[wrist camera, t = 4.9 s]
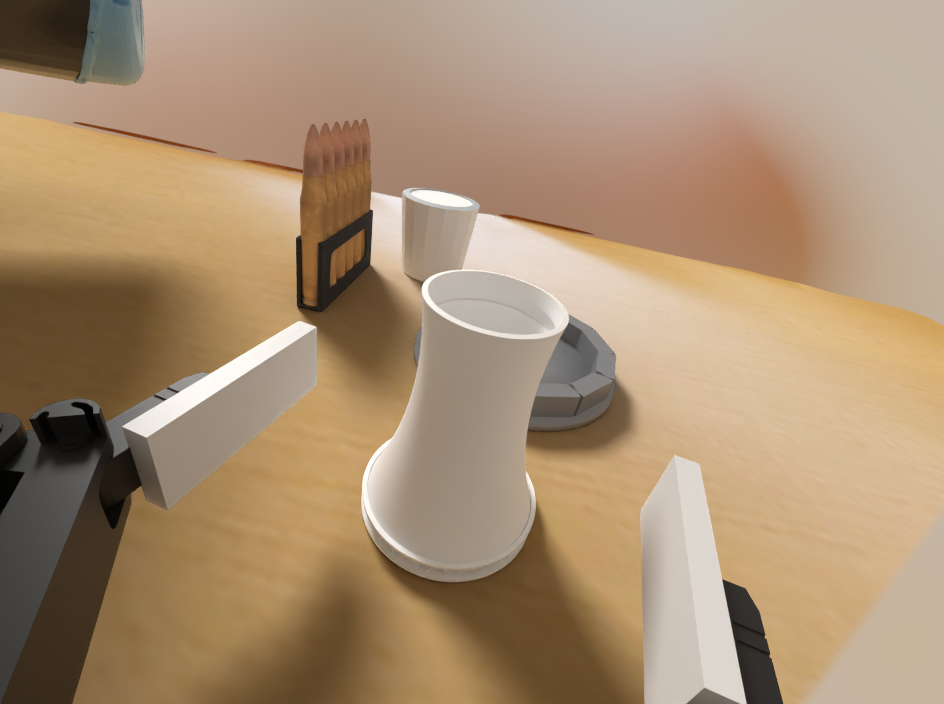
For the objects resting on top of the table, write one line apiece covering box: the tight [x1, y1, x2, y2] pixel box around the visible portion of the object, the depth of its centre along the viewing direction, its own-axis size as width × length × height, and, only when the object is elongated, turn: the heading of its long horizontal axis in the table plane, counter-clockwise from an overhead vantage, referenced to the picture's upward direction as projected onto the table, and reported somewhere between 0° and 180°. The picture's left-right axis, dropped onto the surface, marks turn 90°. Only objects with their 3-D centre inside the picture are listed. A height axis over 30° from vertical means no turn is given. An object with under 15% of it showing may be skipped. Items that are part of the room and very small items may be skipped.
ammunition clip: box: [296, 119, 373, 311], centre depth 32 cm, size 11×2×12 cm, turn 173°
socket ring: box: [414, 314, 616, 432], centre depth 29 cm, size 14×14×2 cm
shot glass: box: [402, 188, 479, 282], centre depth 39 cm, size 7×7×7 cm
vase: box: [361, 270, 569, 582], centre depth 16 cm, size 8×8×10 cm
